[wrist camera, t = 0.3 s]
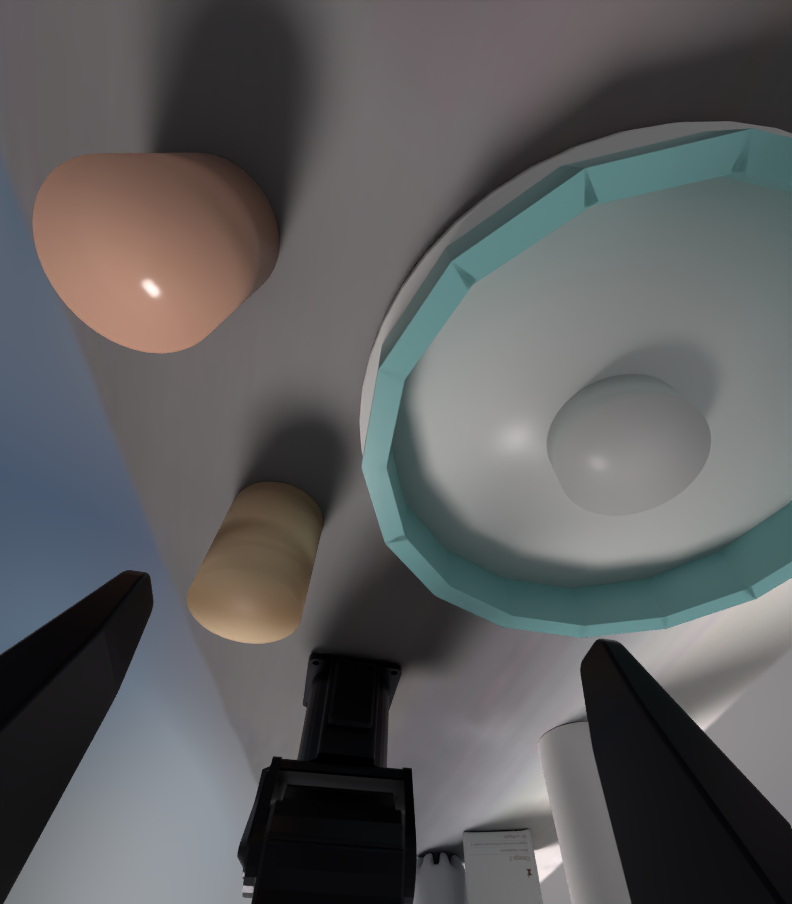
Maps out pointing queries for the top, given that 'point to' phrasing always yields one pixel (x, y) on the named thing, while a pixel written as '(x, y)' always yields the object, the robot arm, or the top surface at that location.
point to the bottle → (440, 881)
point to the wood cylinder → (259, 565)
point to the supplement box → (501, 868)
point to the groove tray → (597, 388)
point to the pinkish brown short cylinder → (154, 244)
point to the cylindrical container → (581, 817)
